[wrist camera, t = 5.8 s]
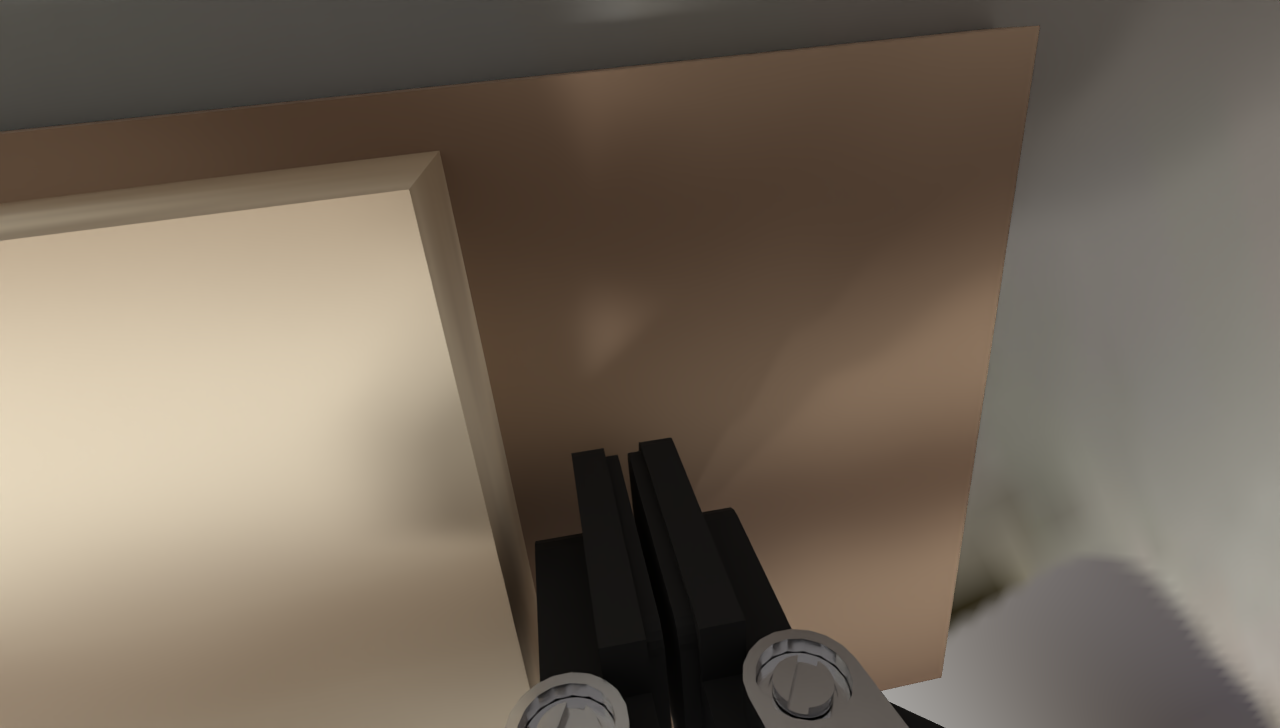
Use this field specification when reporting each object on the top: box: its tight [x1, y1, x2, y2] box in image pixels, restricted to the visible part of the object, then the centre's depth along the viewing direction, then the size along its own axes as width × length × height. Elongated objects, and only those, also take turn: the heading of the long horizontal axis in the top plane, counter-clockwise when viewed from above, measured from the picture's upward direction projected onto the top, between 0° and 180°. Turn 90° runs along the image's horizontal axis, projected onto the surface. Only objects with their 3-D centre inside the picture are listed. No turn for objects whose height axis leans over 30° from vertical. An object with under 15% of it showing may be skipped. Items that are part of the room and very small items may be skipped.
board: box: [0, 26, 1040, 728], centre depth 9 cm, size 14×26×7 cm, turn 96°
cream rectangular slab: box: [0, 151, 540, 728], centre depth 10 cm, size 12×8×3 cm, turn 6°
